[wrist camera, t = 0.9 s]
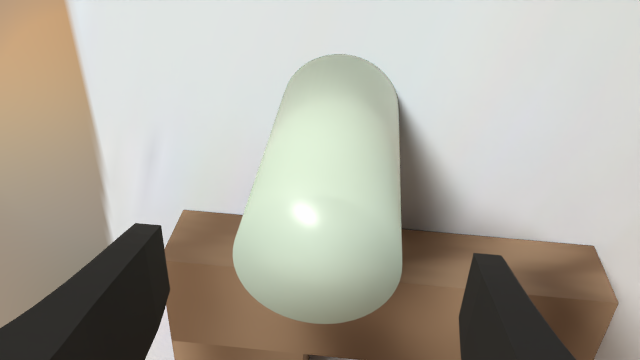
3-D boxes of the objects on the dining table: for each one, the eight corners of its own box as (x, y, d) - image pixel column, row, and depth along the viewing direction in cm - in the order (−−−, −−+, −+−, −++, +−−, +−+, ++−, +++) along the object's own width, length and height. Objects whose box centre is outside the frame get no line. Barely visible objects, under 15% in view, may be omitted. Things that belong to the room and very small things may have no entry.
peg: (404, 58, 19) (412, 203, 13) (392, 162, 22) (392, 331, 15) (282, 49, 20) (227, 187, 13) (282, 153, 22) (236, 315, 15)
